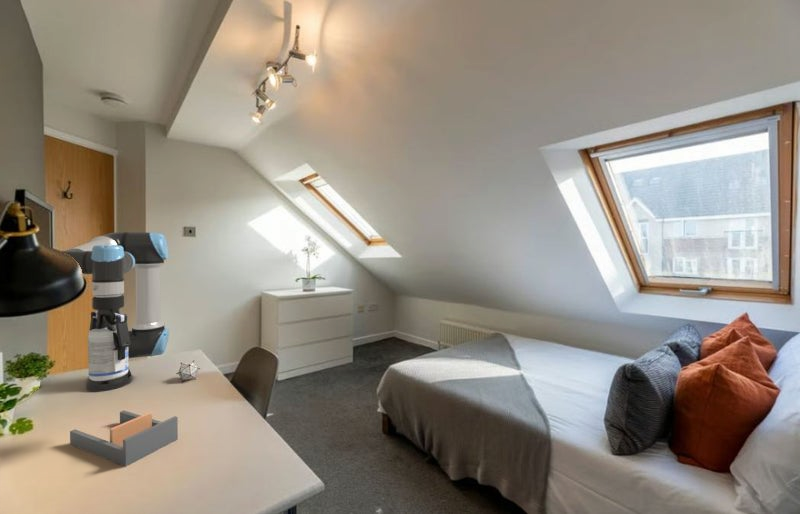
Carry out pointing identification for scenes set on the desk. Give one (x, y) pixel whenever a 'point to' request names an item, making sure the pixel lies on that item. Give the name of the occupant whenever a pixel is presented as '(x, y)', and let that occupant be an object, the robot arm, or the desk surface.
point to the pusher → (130, 428)
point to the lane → (129, 441)
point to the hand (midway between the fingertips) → (109, 367)
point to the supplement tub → (103, 355)
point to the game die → (188, 371)
